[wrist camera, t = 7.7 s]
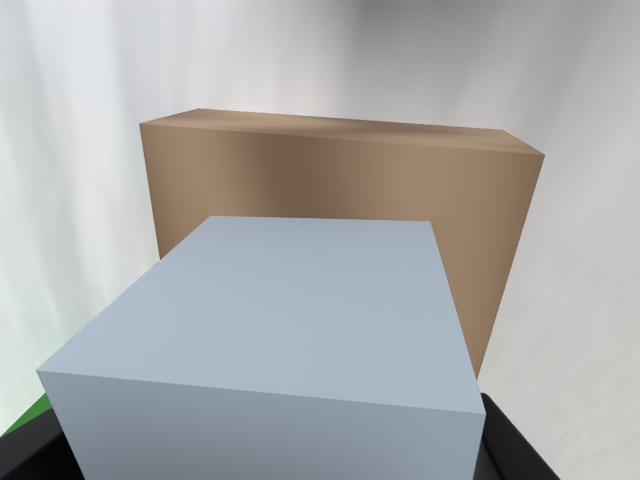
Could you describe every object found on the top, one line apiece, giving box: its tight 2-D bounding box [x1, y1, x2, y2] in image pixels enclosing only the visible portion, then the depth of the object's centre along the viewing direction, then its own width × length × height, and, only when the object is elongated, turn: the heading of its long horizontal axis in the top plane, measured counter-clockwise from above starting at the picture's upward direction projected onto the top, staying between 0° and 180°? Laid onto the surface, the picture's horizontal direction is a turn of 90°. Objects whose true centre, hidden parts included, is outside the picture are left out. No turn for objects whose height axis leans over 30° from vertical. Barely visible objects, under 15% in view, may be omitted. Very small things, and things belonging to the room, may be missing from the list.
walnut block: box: [139, 109, 545, 381], centre depth 13 cm, size 10×10×4 cm
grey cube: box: [36, 216, 486, 480], centre depth 9 cm, size 6×6×6 cm
